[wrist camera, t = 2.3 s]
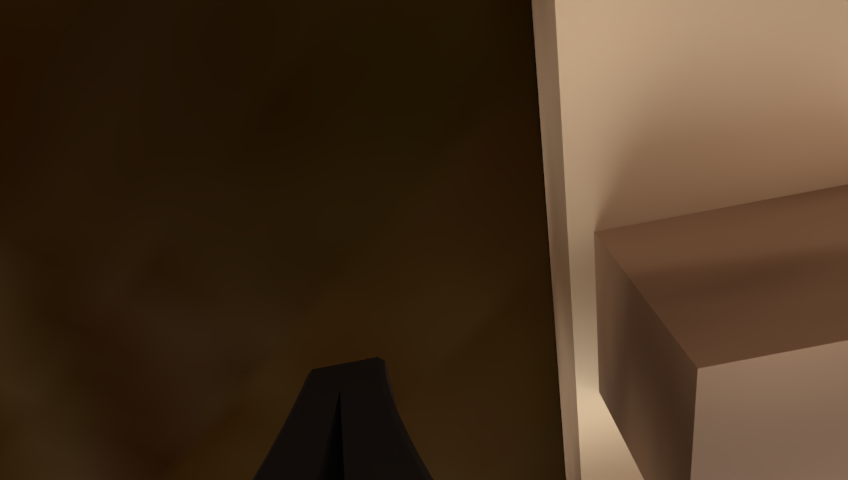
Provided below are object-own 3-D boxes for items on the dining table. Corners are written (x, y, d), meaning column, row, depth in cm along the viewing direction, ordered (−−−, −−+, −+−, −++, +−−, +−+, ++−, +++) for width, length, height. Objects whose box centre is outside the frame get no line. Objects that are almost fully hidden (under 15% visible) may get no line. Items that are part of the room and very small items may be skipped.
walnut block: (866, 340, 13) (1047, 489, 10) (599, 392, 13) (685, 560, 10) (904, 173, 12) (1143, 284, 8) (593, 232, 12) (697, 368, 8)
